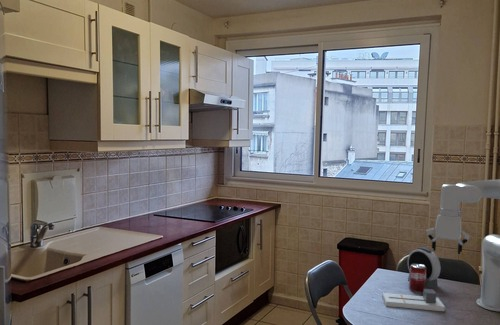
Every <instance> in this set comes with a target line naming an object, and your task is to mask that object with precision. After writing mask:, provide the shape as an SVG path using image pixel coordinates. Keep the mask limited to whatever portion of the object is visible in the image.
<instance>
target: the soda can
mask: <svg viewBox="0 0 500 325" xmlns="http://www.w3.org/2000/svg"><path fill="white" fill-rule="evenodd" d="M426 270H427V268H426V266H424V265H421V264H411V266H410V271H409V274H410V280H409V281H408V289H409V290H410V291H412V292H414V293H417V294H419V293H420V294H421V293H422V294H423V290H424V289H426V288H425V287H426Z"/></svg>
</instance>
